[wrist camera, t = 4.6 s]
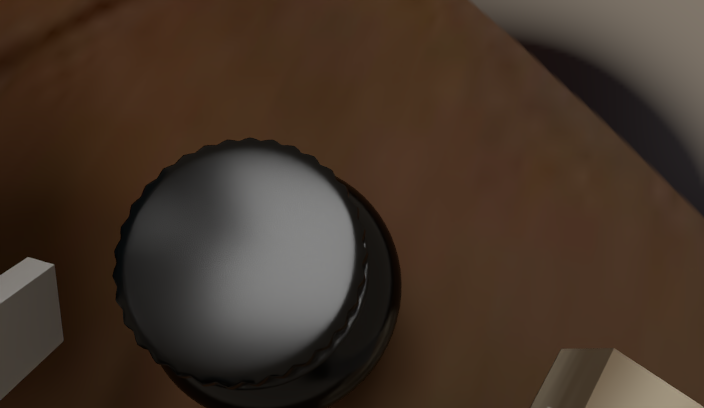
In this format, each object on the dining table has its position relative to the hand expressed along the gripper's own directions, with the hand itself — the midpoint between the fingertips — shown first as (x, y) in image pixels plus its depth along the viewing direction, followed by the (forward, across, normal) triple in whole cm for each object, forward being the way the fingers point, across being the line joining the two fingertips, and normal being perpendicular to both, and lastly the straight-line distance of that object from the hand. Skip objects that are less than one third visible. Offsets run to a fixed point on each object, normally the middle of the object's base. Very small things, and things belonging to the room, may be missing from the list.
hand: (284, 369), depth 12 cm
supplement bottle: (+7, -1, -4) cm, 8 cm away
